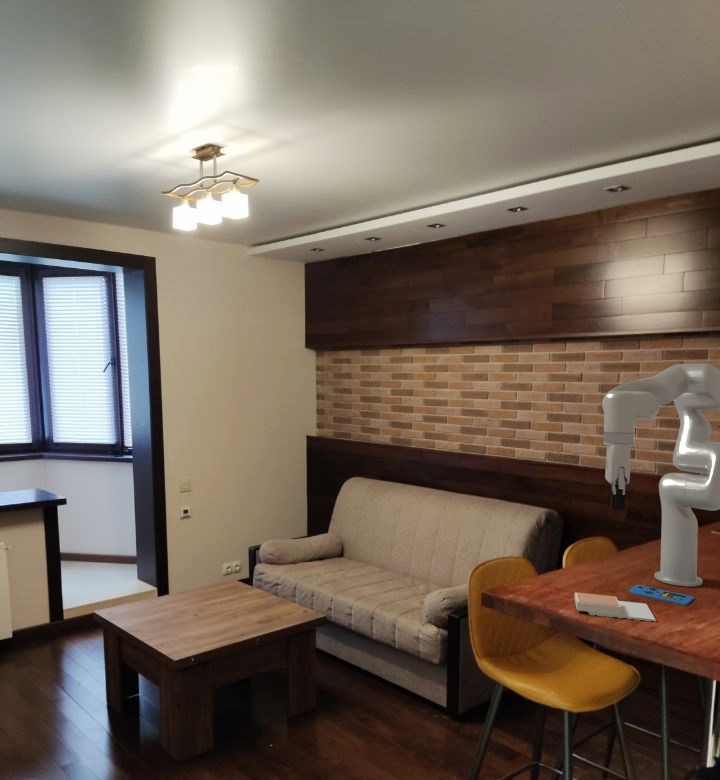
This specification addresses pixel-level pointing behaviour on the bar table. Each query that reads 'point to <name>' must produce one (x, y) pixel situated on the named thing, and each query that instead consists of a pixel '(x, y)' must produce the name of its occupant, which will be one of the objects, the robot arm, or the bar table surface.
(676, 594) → the handheld gaming device
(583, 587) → the bar table surface
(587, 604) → the ceramic tile
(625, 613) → the rubber mat
